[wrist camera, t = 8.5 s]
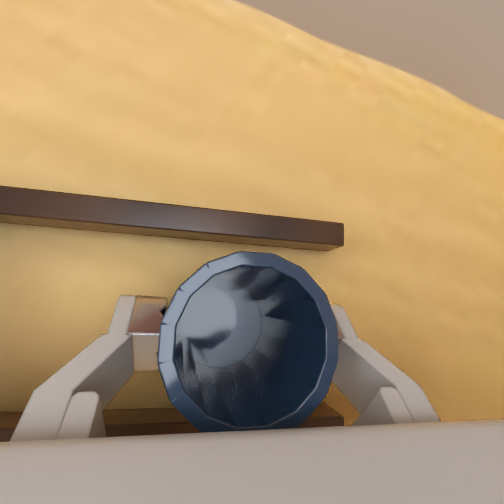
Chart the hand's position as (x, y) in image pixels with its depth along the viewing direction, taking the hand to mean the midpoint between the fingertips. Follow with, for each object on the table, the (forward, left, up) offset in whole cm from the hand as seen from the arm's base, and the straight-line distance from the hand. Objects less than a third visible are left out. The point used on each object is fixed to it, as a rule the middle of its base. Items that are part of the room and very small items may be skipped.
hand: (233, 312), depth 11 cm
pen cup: (0, +1, -4) cm, 4 cm away
